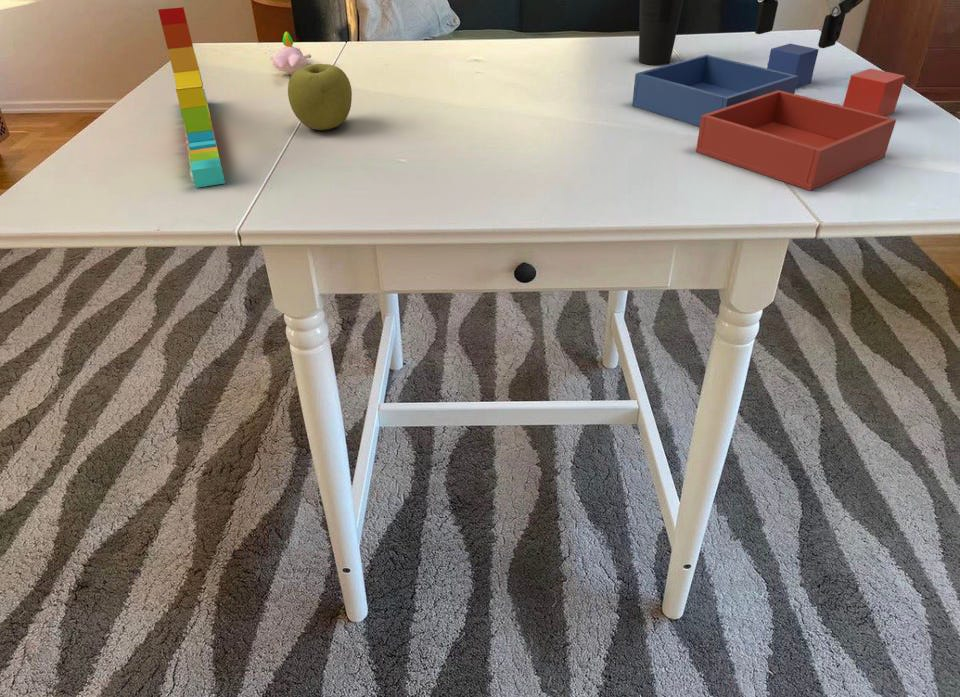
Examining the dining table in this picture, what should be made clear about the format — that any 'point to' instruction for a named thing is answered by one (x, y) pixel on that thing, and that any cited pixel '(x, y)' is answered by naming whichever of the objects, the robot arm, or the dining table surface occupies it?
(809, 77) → the blue block
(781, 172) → the red bin
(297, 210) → the dining table surface
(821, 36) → the robot arm
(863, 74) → the red block
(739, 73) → the blue bin
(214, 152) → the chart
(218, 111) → the dining table surface
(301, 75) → the apple
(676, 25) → the drinking cup
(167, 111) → the dining table surface
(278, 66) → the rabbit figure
